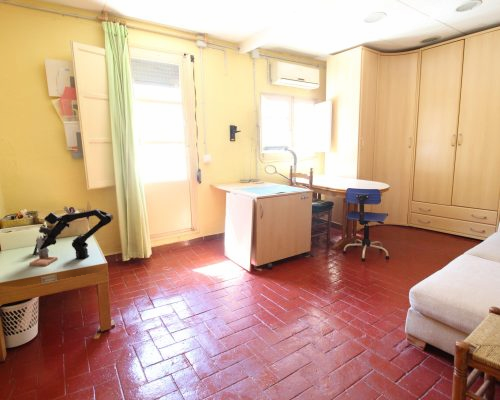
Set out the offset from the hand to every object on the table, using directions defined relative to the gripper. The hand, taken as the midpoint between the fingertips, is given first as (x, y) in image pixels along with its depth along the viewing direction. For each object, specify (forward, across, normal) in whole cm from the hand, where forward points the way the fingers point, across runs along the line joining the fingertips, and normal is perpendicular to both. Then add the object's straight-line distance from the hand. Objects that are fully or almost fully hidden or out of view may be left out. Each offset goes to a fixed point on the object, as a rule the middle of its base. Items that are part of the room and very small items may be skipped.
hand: (40, 248), depth 193 cm
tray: (+6, 0, +8) cm, 10 cm away
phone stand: (+7, -21, +8) cm, 24 cm away
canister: (+4, 0, +6) cm, 7 cm away
